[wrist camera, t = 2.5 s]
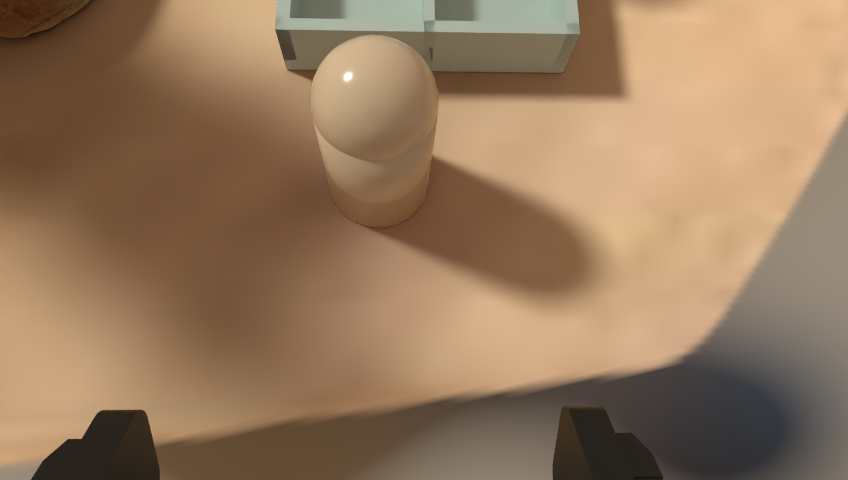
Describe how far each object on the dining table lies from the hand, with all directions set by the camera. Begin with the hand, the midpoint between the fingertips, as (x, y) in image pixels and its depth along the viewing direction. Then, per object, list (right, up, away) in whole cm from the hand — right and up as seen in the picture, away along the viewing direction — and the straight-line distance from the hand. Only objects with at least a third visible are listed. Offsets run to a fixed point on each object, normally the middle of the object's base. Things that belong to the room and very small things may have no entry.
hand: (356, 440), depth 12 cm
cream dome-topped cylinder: (-1, +7, +17) cm, 19 cm away
